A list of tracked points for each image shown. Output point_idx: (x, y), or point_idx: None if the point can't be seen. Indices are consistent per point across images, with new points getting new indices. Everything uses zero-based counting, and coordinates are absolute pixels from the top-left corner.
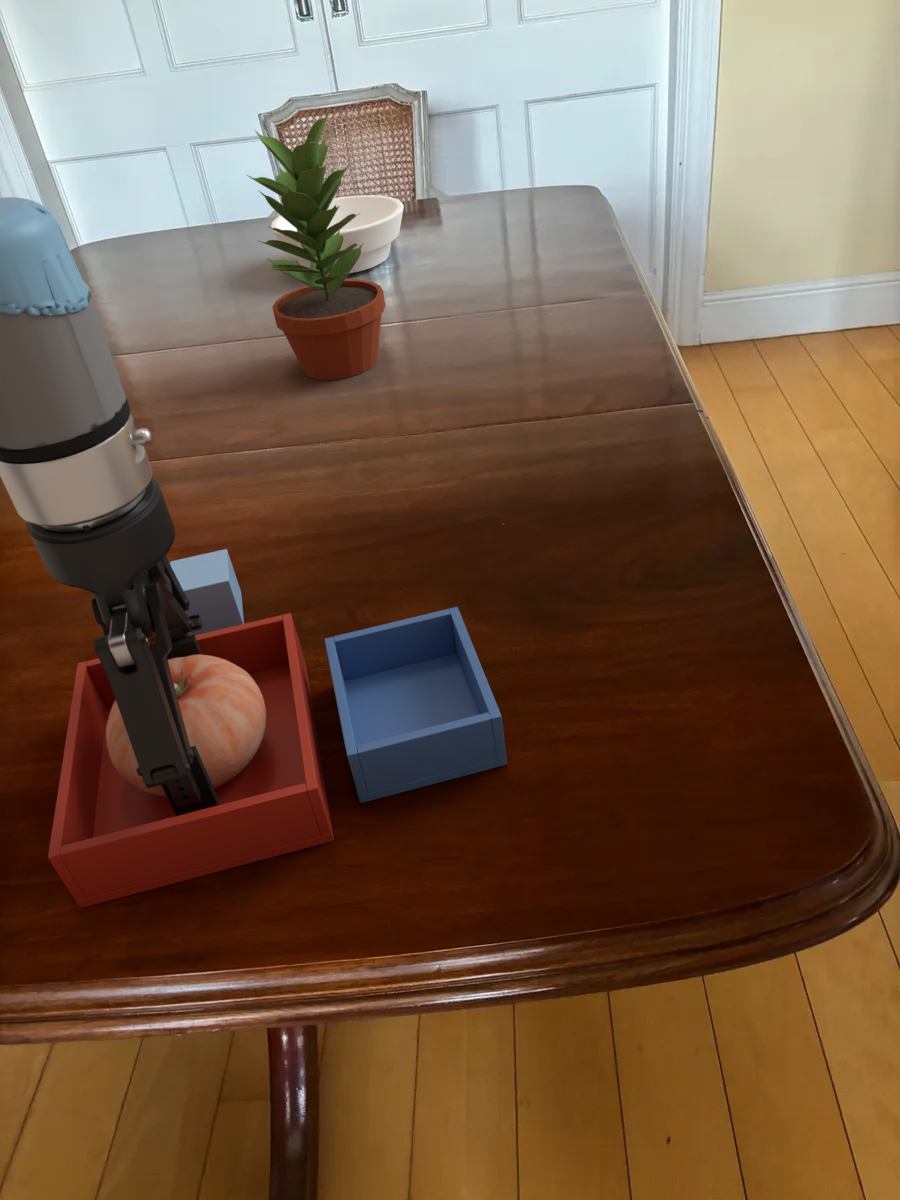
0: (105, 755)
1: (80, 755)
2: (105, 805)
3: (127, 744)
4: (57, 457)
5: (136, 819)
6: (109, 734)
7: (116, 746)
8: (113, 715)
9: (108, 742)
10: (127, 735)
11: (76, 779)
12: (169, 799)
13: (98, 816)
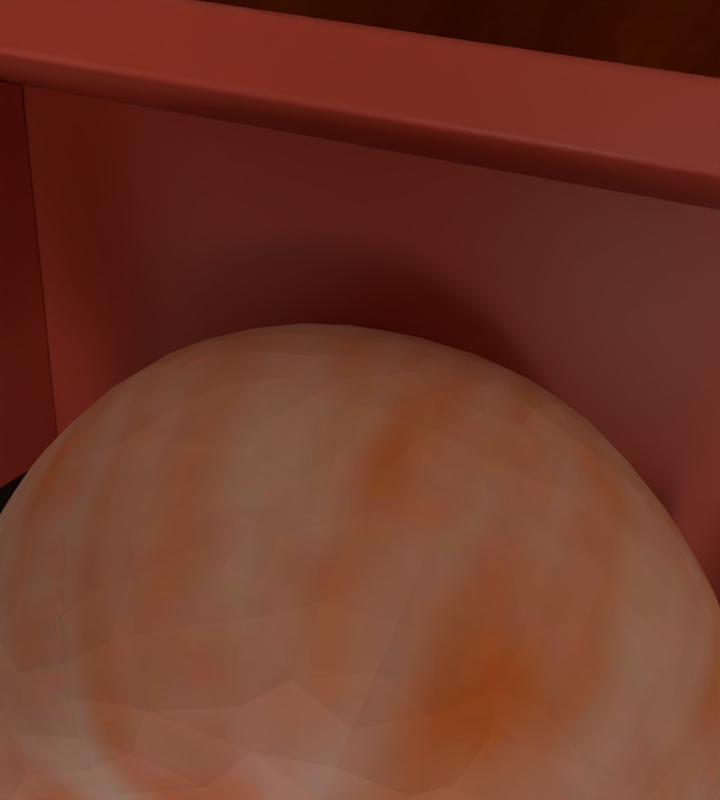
0: (648, 215)
1: (463, 144)
2: (355, 184)
3: (18, 545)
4: None
5: (244, 283)
6: (212, 451)
7: (105, 459)
8: (283, 570)
9: (226, 401)
10: (37, 588)
11: (257, 107)
12: (22, 477)
13: (314, 151)
